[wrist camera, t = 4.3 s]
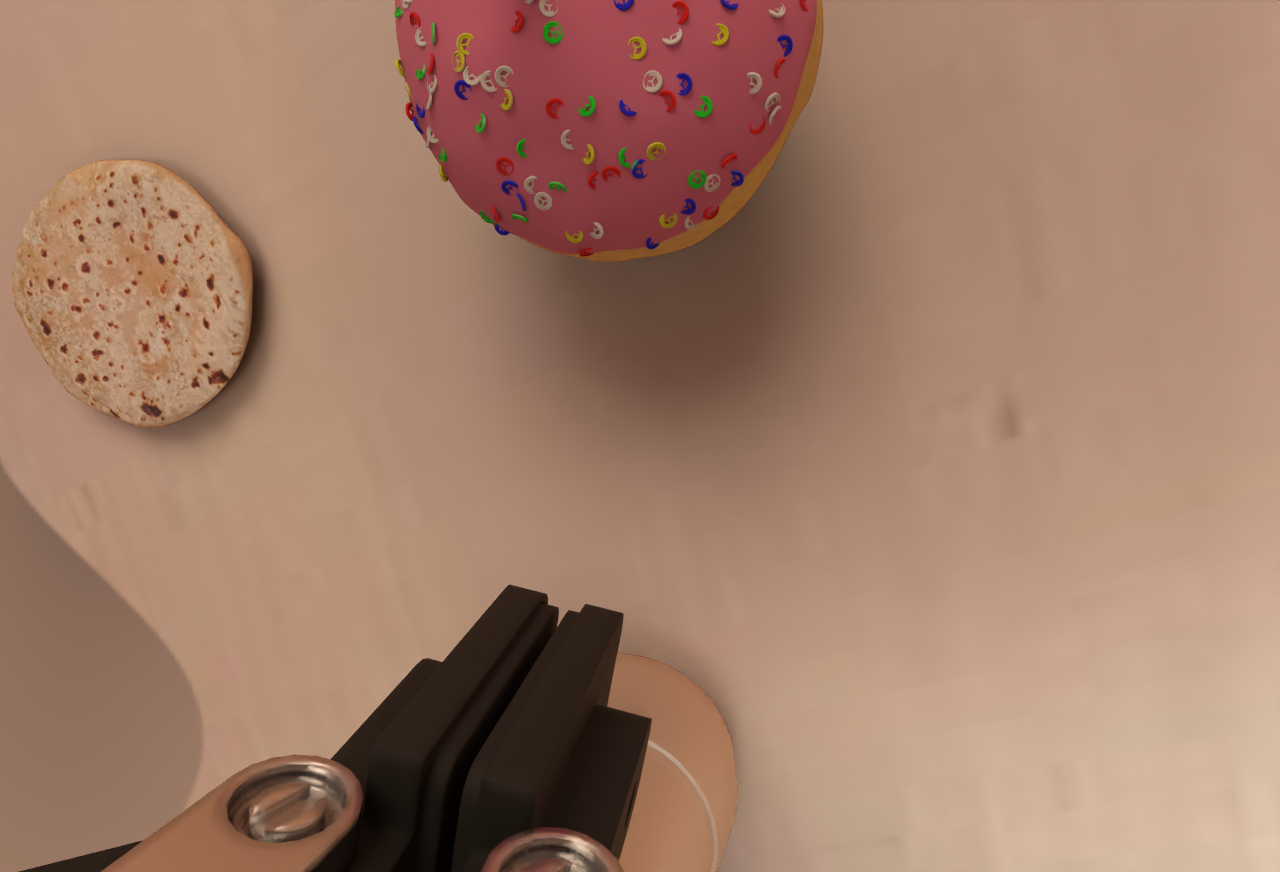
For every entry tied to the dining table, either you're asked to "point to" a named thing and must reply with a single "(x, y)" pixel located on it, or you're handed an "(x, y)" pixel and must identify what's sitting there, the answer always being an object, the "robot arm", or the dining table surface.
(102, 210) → the flatbread
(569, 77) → the cupcake
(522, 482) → the dining table surface
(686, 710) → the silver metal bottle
